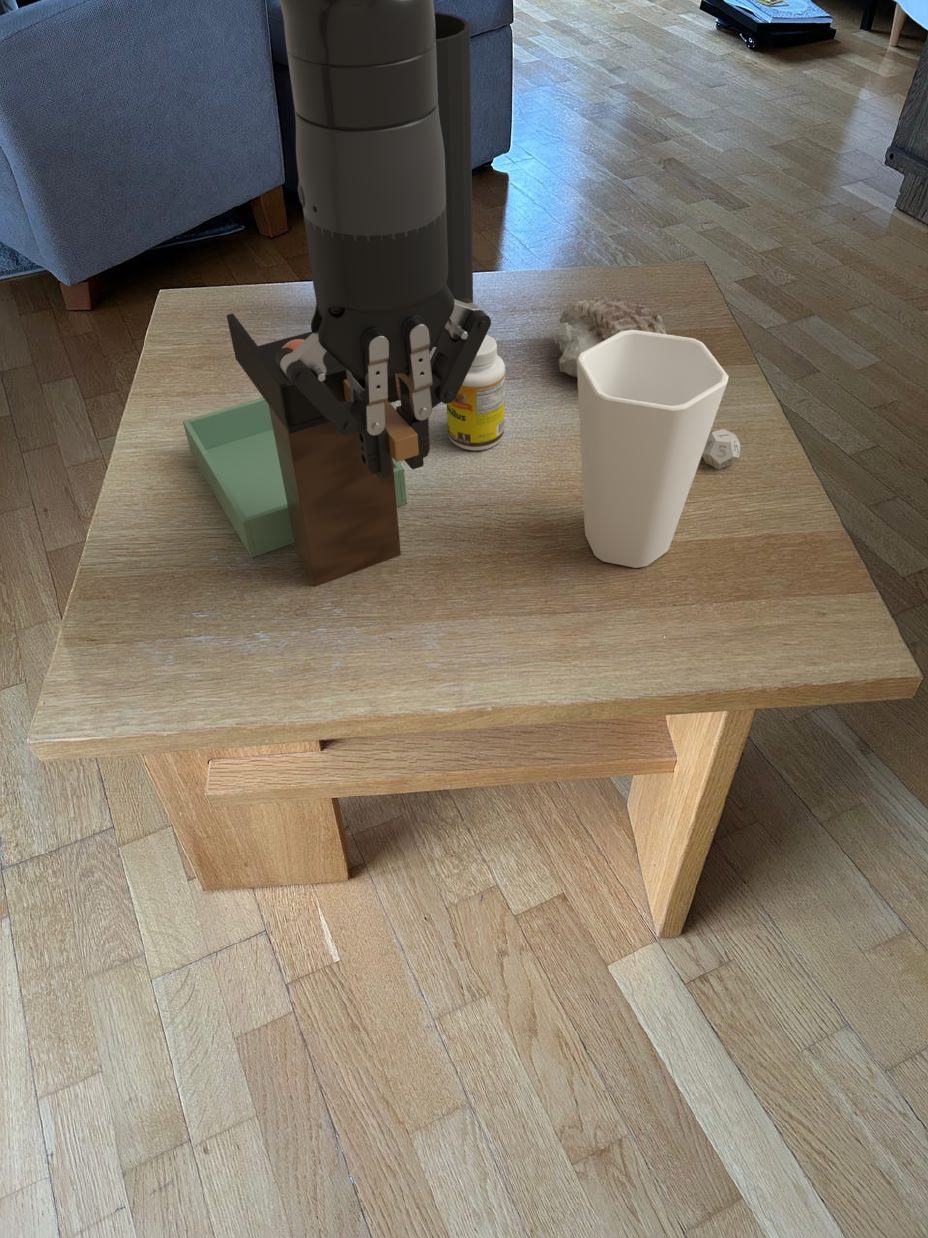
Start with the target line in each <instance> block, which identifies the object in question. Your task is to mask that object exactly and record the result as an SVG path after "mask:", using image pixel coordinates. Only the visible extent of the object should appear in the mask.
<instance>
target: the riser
mask: <svg viewBox="0 0 928 1238" xmlns="http://www.w3.org/2000/svg"><path fill="white" fill-rule="evenodd" d="M269 410H270V416H271V421H272V426H273V431H274V437H275V442H276V447H277V452H278V458H279V463H280V468H281V473H282V479H283V484H284V489H285V494H286V500H287V505H288V510H289V515H290V521H291V526H292V531H293V536H294V542H295V543H294V546H295V552H296V556H297V560H298V561H299V563H300V564H301V566H302V568H303V570H304V571H305V572H306V574H307V576H308V577H309V579H310V581H311V582H312V583H313V585H314V586H315V587H316V586H319V585H322V584H325V583H328V582H329V581H330V582H331V581H333V580H336V579H340V578H341V577H344V576H346V575H349V574H353V573H355V572H358V571H360V570H363V569H365V568H368V567H371V566H374V565H376V564H379V563H382V562H385V561H387V560H390V559H393V558H395V557H398V556H401V555H402V552H401V540H400V538H401V537H400V531H399V529H400V528H399V517H398V507H397V503H396V492H395V480H394V468H393V457H392V456H391V455H390V459H391V470H392V476H391V477H389V478H386V479H383V480H380V479H379V478H378V476H377V475H376V474H373V475H372V474H371V472H370V471H369V470H368V468H367V467H366V466H365V465H364V463H363V462H362V460H361V459H360V456H359V447H358V446H359V445H358V438H357V431H354V432H353V433H352V434H350V435H343V434H342V433H340V432H339V431H338V430H337V428H336V427H335V426H334V425H333V424H332V423H331V422H327V423H324V424H321V425H318V426H315V427H311V428H308V429H305V430H302V431H298V432H295V433H292V434H289V433H288V431H287V430H286V428H285V427H284V426H283V424H282V423H281V421H280V420H279V419H278V417H277V416H276V414H275V413H274V412H273V410H272V409H271V407H270V406H269Z"/></svg>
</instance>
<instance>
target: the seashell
mask: <svg viewBox="0 0 928 1238" xmlns="http://www.w3.org/2000/svg"><path fill="white" fill-rule="evenodd" d="M627 330H638V331H645V332H652V333H659V334H667V330H666V326H665V323H664V314H663V313H662V312H661V313H659V314H656V313H654V311H652V309H651V308H650V307H649V306H643V305H642V304H641V303H640V302H638V301H636V302H633V301H631V300H630V299H628V298H626V300H625V301H623V299H621V297H619V296H617V295H615V299H613V300H611V299H609V298H607V297H606V296H602V297H600V298H598V297H597V296H594V297H592V298H590V299H589V300H587V299H585V298H584V299H582V300H578V301H575V302H573V303H571V304H569V305H567V306H566V308H565V309H564V310H563V311H562V313H561V315H560V318H559V324H558V329H557V332H555V333H553V339H554V344H555V346H557V347H558V348H559V351H561V352H562V355H561V356H560V357H559V359H558V366H559V371H560V372H562V373H566V374H567V375H568V376H571V377H572V378H578V376H577V359H578V356H579V354H580V353H582V352H584V351H586V350H588V349H590V348H591V347H593V346H595V345H597V344H599V343H601V342H603V341H605V340H606V339H608V338H610V337H612V336H614V335H616V334H618V333H620V332H621V331H627Z"/></svg>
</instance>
